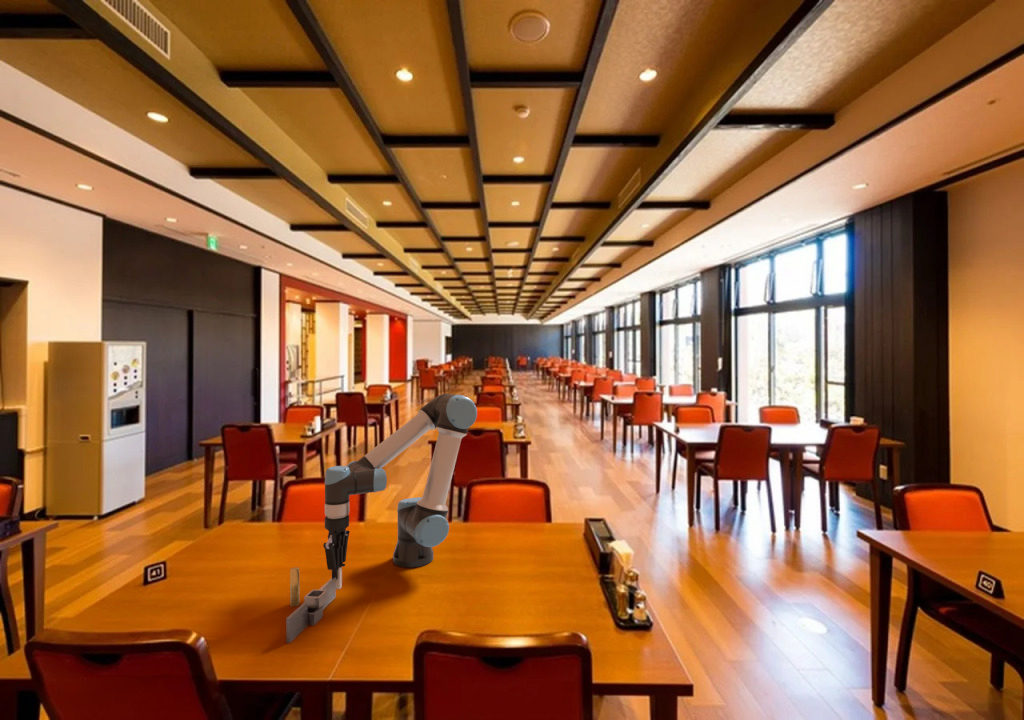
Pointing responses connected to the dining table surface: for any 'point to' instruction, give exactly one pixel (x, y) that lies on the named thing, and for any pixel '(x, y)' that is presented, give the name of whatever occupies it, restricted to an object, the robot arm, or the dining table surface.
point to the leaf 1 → (322, 595)
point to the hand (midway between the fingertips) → (336, 587)
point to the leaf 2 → (301, 620)
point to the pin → (294, 587)
